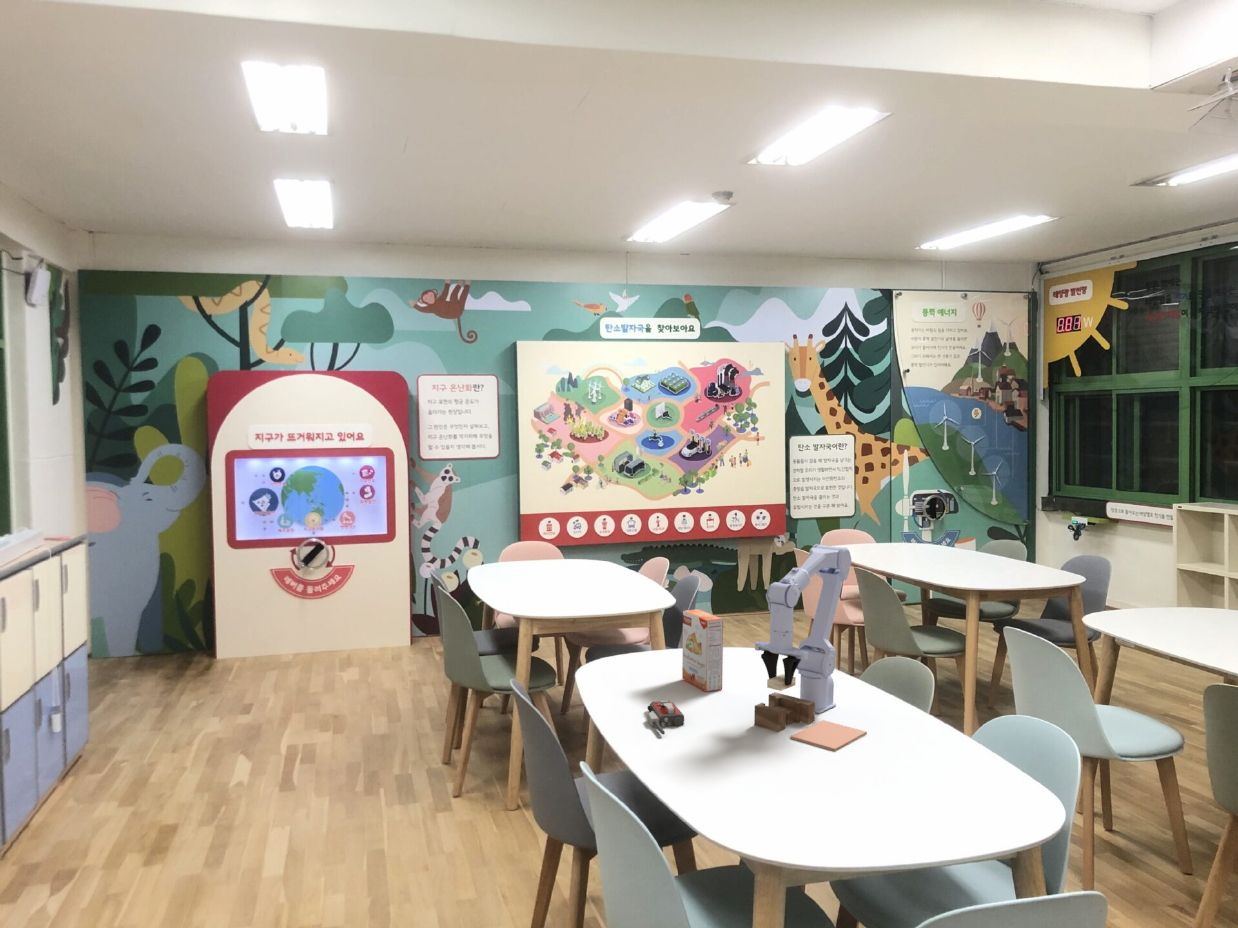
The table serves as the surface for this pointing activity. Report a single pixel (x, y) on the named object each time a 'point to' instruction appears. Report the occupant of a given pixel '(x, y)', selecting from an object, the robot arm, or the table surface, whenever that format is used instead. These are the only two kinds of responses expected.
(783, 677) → the slab
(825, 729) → the mat
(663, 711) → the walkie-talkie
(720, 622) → the cracker box
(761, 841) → the table surface
